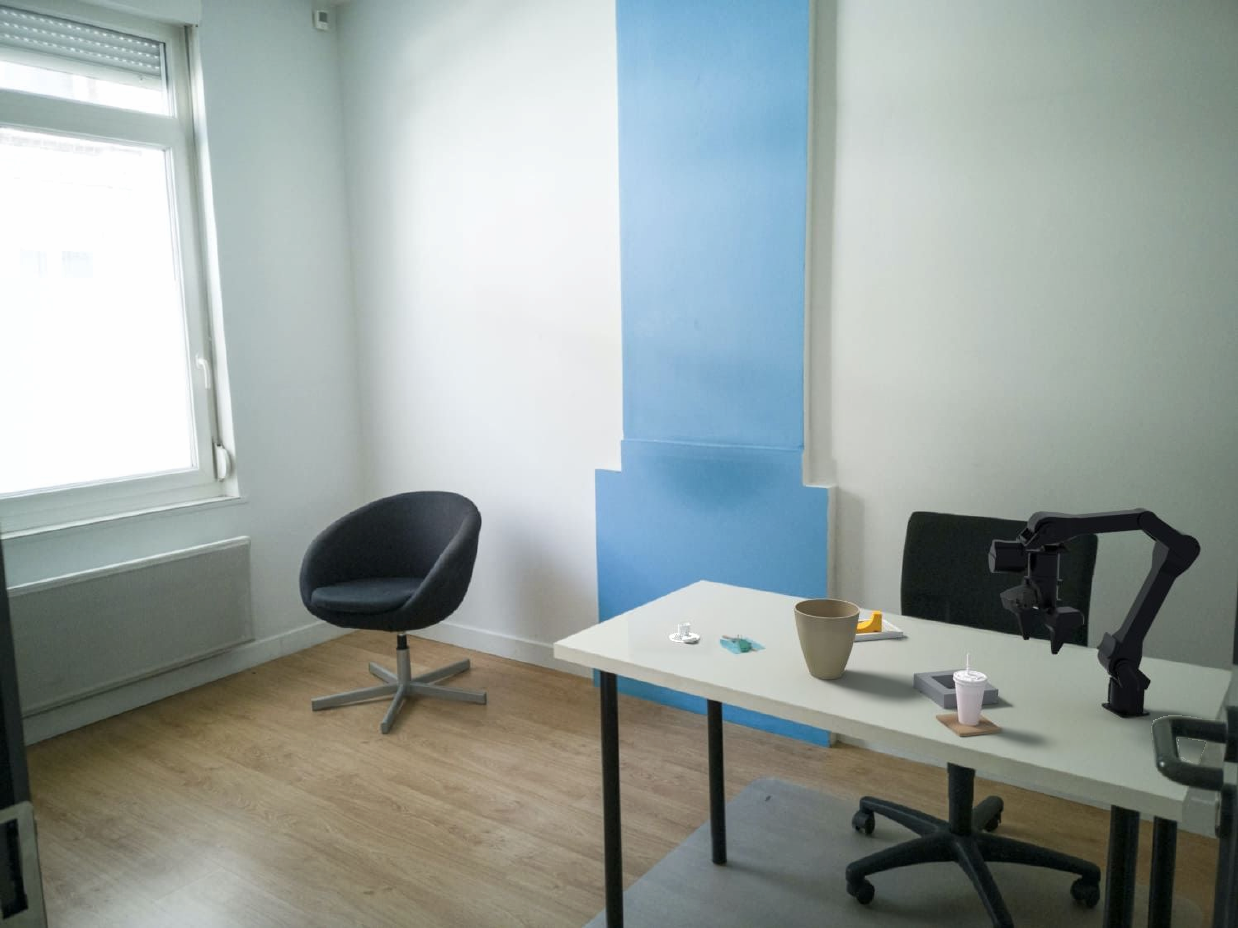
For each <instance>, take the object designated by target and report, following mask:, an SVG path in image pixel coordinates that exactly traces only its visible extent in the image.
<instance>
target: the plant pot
mask: <svg viewBox="0 0 1238 928" xmlns="http://www.w3.org/2000/svg"><path fill="white" fill-rule="evenodd" d="M793 612H794V619H795V620H794V621H795V626H796V631H797V637H798V640H799V644H800V648H801V651H802V654H803V658H804V661H805V663H806V666H807V669H808V672H809V674H810V675H811V676H813V677H814V678H817V679H821V680H836V679H839V678H841V677H842V676H843V674H844V672H845V669H846V667H847V665H848V662H849V659H850V655H851V653H852V650H853V646H854V643H855V641H854V640H855V636H856V631H857V626H858V620H860V613H861V608H860V607H859V606H858V605H856V604H855V603H853V602H849V601H845V600H840V599H835V598H811V599H805V600H801V601H797V602H796V603H795V604H794V605H793Z"/></svg>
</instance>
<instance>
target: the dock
mask: <svg viewBox="0 0 1238 928" xmlns="http://www.w3.org/2000/svg"><path fill="white" fill-rule="evenodd" d="M962 670H967V668H958V669H957V668H956V669H948V670H947V669H946V670H937V671H936V670H935V671H927V672H915V673H913V685H912V686H913V687H914V688H915V689H916V690H918V691H919V692H920V693H922V694H923V695H925V696H926V697H928V698H929V699H930V700H932V701H933V702H934V703H936V705H938V706H939V707H940V708H942V709H950V708H958V707H957V697H956V687H955V681H954V680H953V677H954V673H955V672H957V671H962ZM998 703H999V688H997V687H995V686H994V685H992V684H991V683H989V682H988V681H987V684H986V685H985V689H984V695H983V701H982V705H991V704H998Z"/></svg>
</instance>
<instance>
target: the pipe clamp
mask: <svg viewBox="0 0 1238 928" xmlns="http://www.w3.org/2000/svg"><path fill="white" fill-rule="evenodd" d="M869 619H870V620H869V621H864V622H862V623H859V624H858V626H857V631H856V634H863V633H875V632H883V630H882V628H883V626H882V619H883V614H882V612H881V611H880V610H872V614H871V616H870V618H869Z"/></svg>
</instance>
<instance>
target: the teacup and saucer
mask: <svg viewBox="0 0 1238 928" xmlns="http://www.w3.org/2000/svg"><path fill="white" fill-rule="evenodd" d="M690 626H691V625H690V623H689V622H679V623H677V630H678V631H677V632H676V633H672V634H670V635H669V637H668V638H670V639H669V640H670V641H672V642H674V643H675V642H676V643H686V644H687V643H694V642H697V641H698V640H699V639H700V635H698V634H696V633H693V632H690V629H691V627H690ZM676 634H677V635H676ZM675 635H676V636H678V637H679V639H680V640H676V639H675V638H674V637H676V636H675ZM672 638H674V639H675V640H674V639H672Z"/></svg>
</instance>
